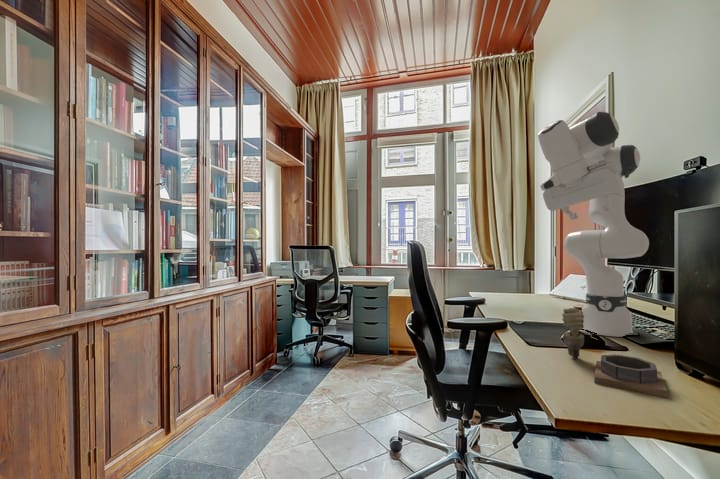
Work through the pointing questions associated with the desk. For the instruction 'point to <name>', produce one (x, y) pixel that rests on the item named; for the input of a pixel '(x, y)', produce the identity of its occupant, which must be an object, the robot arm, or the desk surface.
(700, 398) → the desk surface
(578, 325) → the light bulb
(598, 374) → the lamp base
